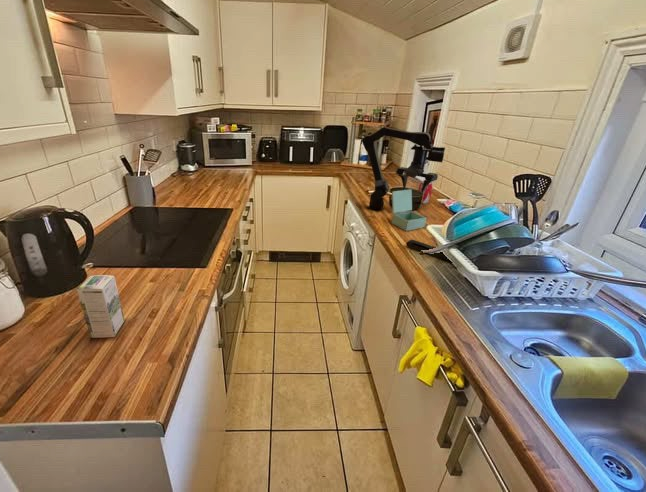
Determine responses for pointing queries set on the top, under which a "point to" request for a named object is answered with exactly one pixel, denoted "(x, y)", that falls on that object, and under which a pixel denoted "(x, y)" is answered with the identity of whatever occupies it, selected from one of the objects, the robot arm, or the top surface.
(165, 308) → the top surface
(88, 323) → the syrup box
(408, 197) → the lid
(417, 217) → the keepsake box
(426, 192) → the soda can
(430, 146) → the robot arm
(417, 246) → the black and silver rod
